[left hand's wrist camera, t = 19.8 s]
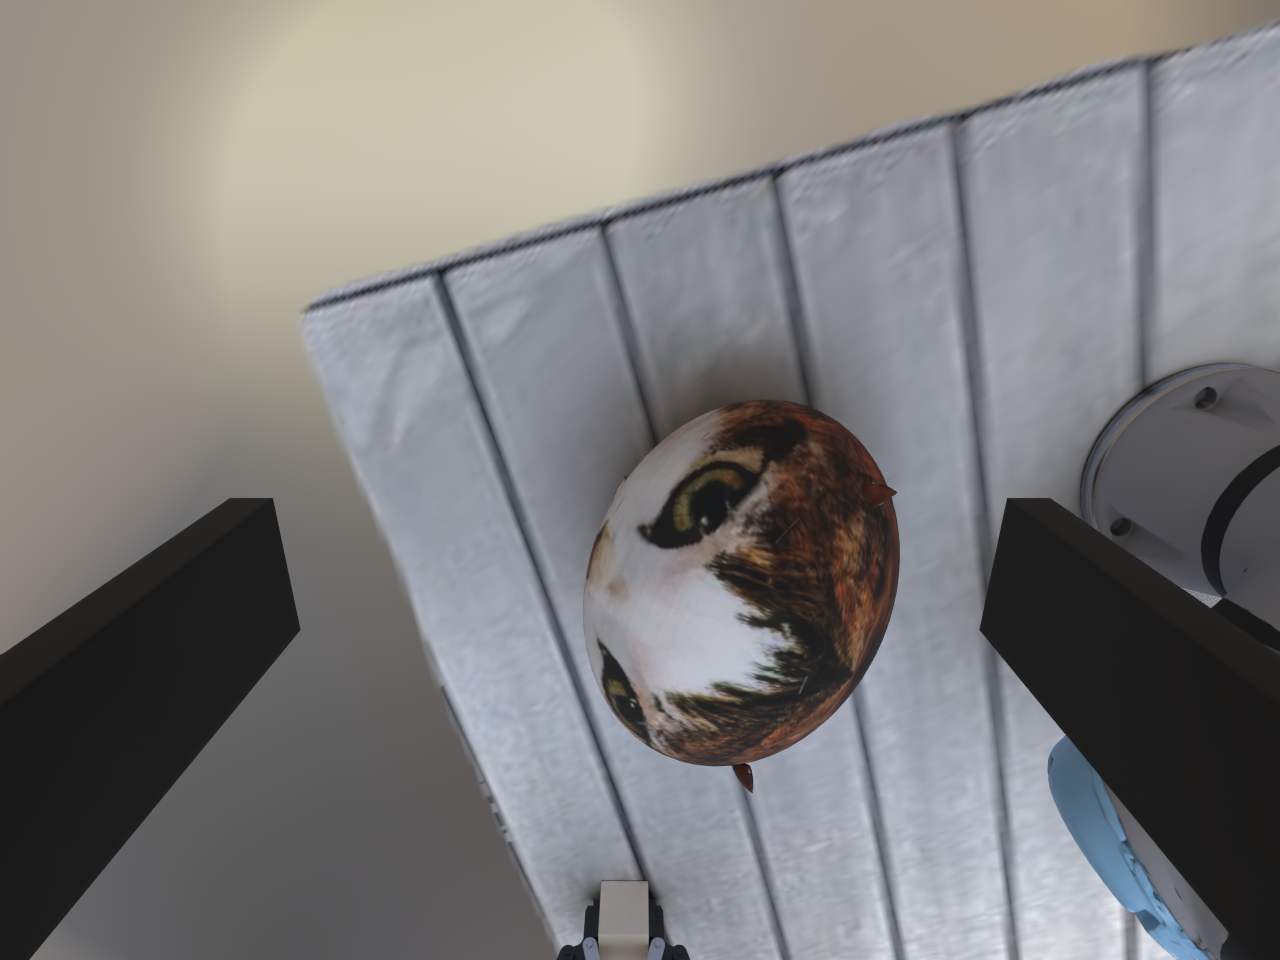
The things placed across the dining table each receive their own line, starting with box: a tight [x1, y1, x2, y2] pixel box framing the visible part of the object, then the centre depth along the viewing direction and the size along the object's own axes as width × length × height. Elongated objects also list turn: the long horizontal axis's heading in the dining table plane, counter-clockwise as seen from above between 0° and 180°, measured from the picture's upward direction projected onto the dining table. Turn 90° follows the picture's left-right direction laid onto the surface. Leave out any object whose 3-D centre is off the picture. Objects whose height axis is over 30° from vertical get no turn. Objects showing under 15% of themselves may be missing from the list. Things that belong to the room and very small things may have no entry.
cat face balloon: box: [583, 400, 900, 793], centre depth 41 cm, size 22×18×20 cm
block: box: [598, 881, 649, 960], centre depth 60 cm, size 4×4×5 cm
